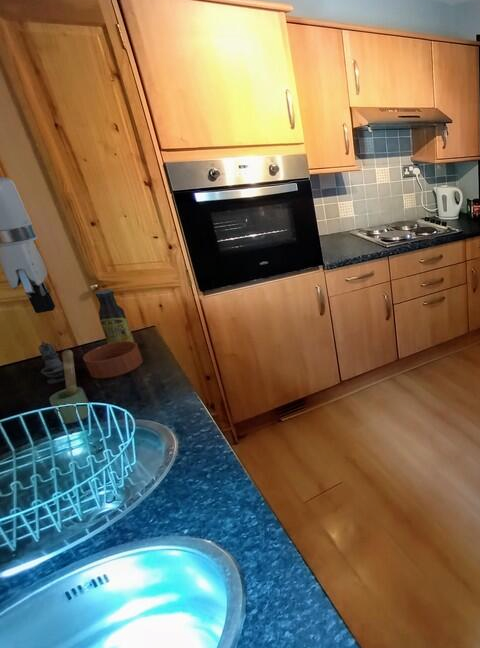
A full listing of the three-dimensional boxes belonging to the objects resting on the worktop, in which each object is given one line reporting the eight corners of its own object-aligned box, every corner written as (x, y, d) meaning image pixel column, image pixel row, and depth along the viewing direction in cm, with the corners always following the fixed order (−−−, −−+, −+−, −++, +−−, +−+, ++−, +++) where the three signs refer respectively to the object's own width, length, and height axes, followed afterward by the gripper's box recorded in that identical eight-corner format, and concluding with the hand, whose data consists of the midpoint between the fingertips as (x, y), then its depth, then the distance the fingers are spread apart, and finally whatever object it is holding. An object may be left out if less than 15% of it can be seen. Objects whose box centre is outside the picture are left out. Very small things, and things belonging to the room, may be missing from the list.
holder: (59, 428, 109) (47, 404, 106) (62, 415, 113) (51, 392, 111) (91, 419, 112) (81, 395, 109) (94, 406, 117) (83, 384, 114)
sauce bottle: (108, 355, 141) (84, 296, 132) (114, 346, 146) (92, 289, 138) (133, 351, 143) (111, 293, 135) (139, 342, 148) (118, 286, 140)
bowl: (88, 384, 126) (80, 366, 123) (92, 366, 135) (85, 348, 132) (143, 371, 132) (136, 353, 130) (143, 354, 141) (137, 337, 139)
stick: (69, 418, 111) (61, 352, 106) (70, 414, 113) (62, 349, 107) (79, 417, 112) (71, 351, 107) (80, 413, 114) (72, 348, 109)
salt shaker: (73, 370, 132) (56, 334, 128) (74, 378, 129) (57, 341, 124) (45, 378, 129) (27, 341, 124) (46, 386, 125) (27, 348, 120)
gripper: (-3, 230, 103) (31, 303, 111) (-24, 245, 92) (16, 326, 99) (41, 225, 107) (71, 296, 115) (27, 240, 96) (61, 317, 103)
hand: (45, 310), depth 107 cm, fingers closed
